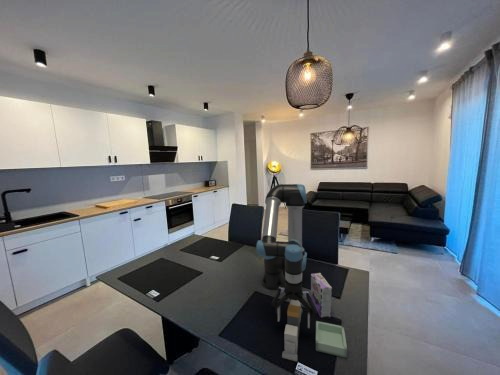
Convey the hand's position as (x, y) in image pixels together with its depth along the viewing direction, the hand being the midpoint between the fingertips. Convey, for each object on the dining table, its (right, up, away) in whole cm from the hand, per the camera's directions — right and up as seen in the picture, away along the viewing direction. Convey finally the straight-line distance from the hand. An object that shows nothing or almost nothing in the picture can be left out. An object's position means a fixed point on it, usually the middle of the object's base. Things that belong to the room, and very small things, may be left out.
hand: (293, 322), depth 97 cm
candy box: (+18, -3, +16) cm, 24 cm away
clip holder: (0, -5, +1) cm, 5 cm away
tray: (+15, -5, -5) cm, 17 cm away
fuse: (0, -5, +1) cm, 5 cm away
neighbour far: (+3, -4, +9) cm, 11 cm away
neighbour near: (-3, -6, -8) cm, 10 cm away
